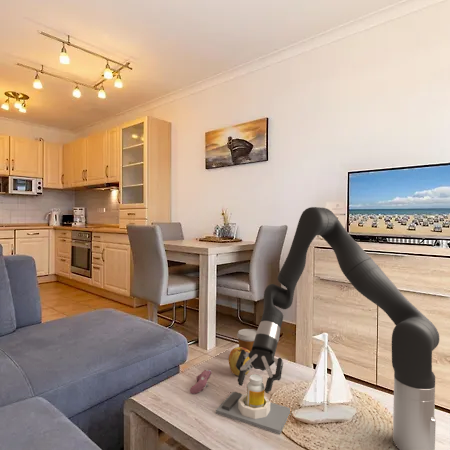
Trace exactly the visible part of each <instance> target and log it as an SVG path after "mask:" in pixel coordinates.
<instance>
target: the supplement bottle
mask: <svg viewBox="0 0 450 450" xmlns="http://www.w3.org/2000/svg"><path fill="white" fill-rule="evenodd" d="M248 380H249V382H248V383H247V385H246V394H247V399H246V406H249V407H252V408H259V407H264V395H265V384H264V383H263V381H264V380H263V376H262V375H260V374H257V373H256V374H255V373H253V374H251V375H250V376H249V379H248Z"/></svg>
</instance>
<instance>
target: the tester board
mask: <svg viewBox="0 0 450 450" xmlns="http://www.w3.org/2000/svg"><path fill="white" fill-rule="evenodd" d="M246 399H247V393H244V394H243V393H241V392H237V391H232V392H231V393H230V394H229V395H228V397H226V398H225V400H224V401H223V402H221V404H220V405H219V406H218V407H217V408H216V409H215V414H217V415H220V416H223V417H227V418H229V419H232V420H234V421H235V420H236V421H238V422H241V423H244V424H247V425H249V426H252V427H253V426H254V427H257V428H259V429H262V430H266V431H268V432H271V433H275V434H278V435H281V434H282V432H283V429H284V428H285V426H286V424H287V422H288V420H287V418H288V416H289V414H290V408H291V407H288V406H285V405H280V404H277V403H273V402H271V401H270V400H269V398H268V397H267V396H266V395H265V394H264V407H259V408H252V407H249V406H246ZM290 415H291V414H290ZM289 417H290V416H289ZM288 419H289V418H288ZM286 421H287V422H286ZM285 423H286V424H285ZM284 425H285V426H284Z"/></svg>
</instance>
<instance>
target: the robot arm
mask: <svg viewBox="0 0 450 450" xmlns="http://www.w3.org/2000/svg"><path fill="white" fill-rule="evenodd" d="M316 236H320V237H321V238H322V239H323V240H324V241H325V242H326V243H327V244H328V245H329V246H330V247H331V249H332V250H333V252H334V254H335V256H336V260H337V263H338V266H339V268H340V271H341V272H342V273H343V276H344V277H345V278H346V279H347V280H348V281H349V283H350V284H351V285H352V286H353V287H354V289H356V291H358V293H360V294H361V295H362V296H363V297H364V298H366V299H367V300H369V301H371V302H372V303H374V305H376V306H377V307H379V308H380V309H381V310H382V311H383V312H384V313H385V314H386V315H387V316H388V317H389V319H390V320H391V321H392V322H393V323H394V325H395V327H394V328H393V330H392V334H391V364H392V365H391V366H392V370H393V372H394V375H393V377H394V379H393V413H392V415H393V416H392V417H393V418H392V442H393V441H394V442H395V444H396V445H397V447H396V448H397V449H398V450H436V423H437V422H436V417H435V410H436V409H435V405H436V403H435V402H436V375H435V373H434V372H433V351H434V350H435V349H436V348H437V347H438V346H439V343H440V333H439V331H438V329H437V327H436V326H435V325H434V324H433V322H432V321H431V320H430V319H429V318H428V317H427V316H425V315H424V314H423V313H422V312H421V310H419V309H418V308H417V307H416V306H415V305H413V304H412V302H411V301H409V300H408V299H407V297H406V296H405V295H404V294H403V293H402V292H401V291H400V289H399V288H398V287H397V286H396V285H395V284H394V282H392V280H391V279H390V278H389V277H388V276H387V274H386V273H385V272H384V271H383V270H382V268H381V267H380V266H379V264H377V263H376V262H375V260H373V258H372V257H371V256H369V254H368V253H367V252H366V251H365V250H364V248H362V247H361V246H360V244H359V243H358V242H357V241H356V240H355V239H354V238H353V237H352V236H351V235H350V233H348V231H347V230H346V228H345V227H344V226H343V224H342V222H341V221H340V220H339V219H338V217H337V216H336V215H335V213H334V212H333V211H332V210H331V209H329V208H326V207H317V206H311V207H307V208H305V210H303V211H302V212H301V215H300V217H299V220H298V223H297V226H296V229H295V232H294V236H293V240H292V242H291V245H290V249H289V251H288V254H287V256H286V259H285V261H284V263H283V265H282V266H281V268H280V271H279V273H278V275H277V281H278V282H279V284H281V285H282V286H283V287H281V286H279V285H276V284H275V283H270V284H268V285H267V286H266V287H265V288H264V291H263V312H262V316H261V319H260V322H259V325H258V327H257V330H256V331H257V333H256V336H255V340H254V343H253V346H252V350H251V352H250V353H249V352H245V350H241V353H240V355H239V358H238V361H237V363H236V367H237V369H238V370H239V371H240V373H239V376H237V383H238V385H239V386H241V387H243V384H244V381H245V377H246V376H247V375H246V374H245V373H246V372H247V371H249V372H250V371H251V370H252V369H255V370H260V371H262V372H264V371H266V374H267V375H268V377H267V379H266V384H265V385H264V387H265V391H264V393H265V394H269V392H272V389H273V384H274V382H275V381H278V382H279V381H281V379H282V372H283V367H284V361H283V359H282V357H278V358H275V355H276V352H277V347H278V344H279V340H280V335H281V334H280V333H281V328H282V324H283V320H284V315H283V312H282V311H281V310H288V309H289V308H290V307H291V306H292V305H293V300H294V295H295V290H296V286H297V284H298V282H299V280H300V278H301V276H302V275H303V273H304V270H305V267H306V262H307V254H308V251H309V248H310V245H312V242H313V241H314V239H315V238H316ZM278 308H279V309H281V310H279V309H278ZM247 357H249V358H250V359H249V360H248V361H247V362H246V363H245V364H244V365H243V363H244V360H245V359H247ZM274 363H275V366H276V367H275V368H276V369H275V372H274V373H273V371H272V369H271V366H272V365H273V364H274ZM394 442H393V443H394ZM395 444H394V445H395ZM396 445H395V446H396Z"/></svg>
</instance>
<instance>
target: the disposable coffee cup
mask: <svg viewBox="0 0 450 450" xmlns="http://www.w3.org/2000/svg"><path fill="white" fill-rule="evenodd" d="M256 333H257V330H256V329H251V328H243V329H239V330H238V331H237V333H236V337H237V341H238V342H237V343H238V347H243V348H246V349H248V350H249V351H250V352H251V350H252V346H253V343H254V340H255V336H256Z"/></svg>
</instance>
